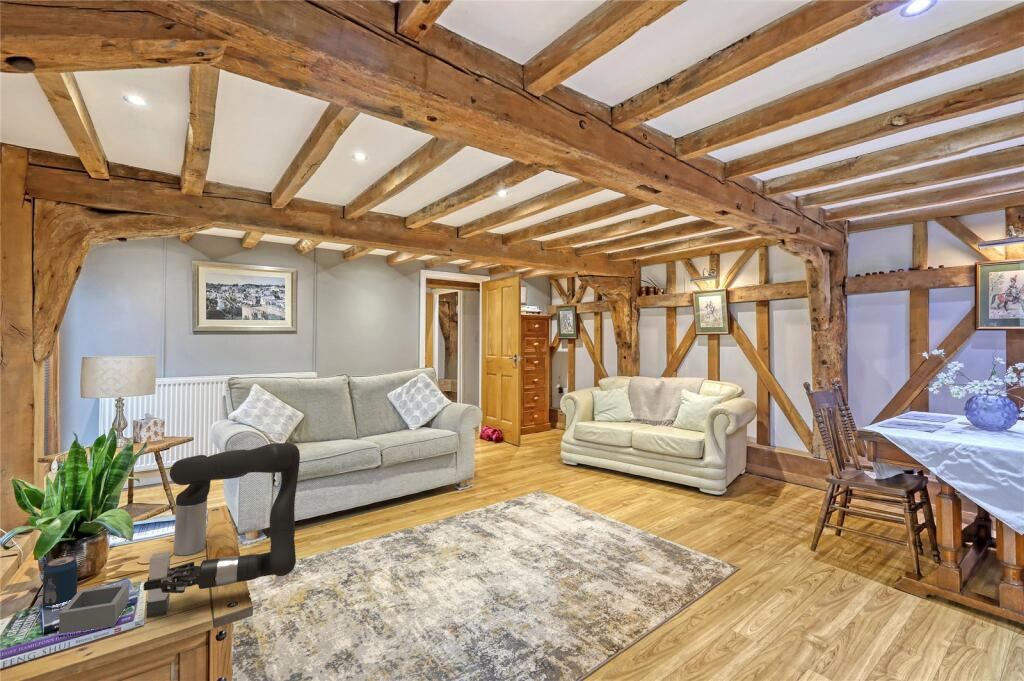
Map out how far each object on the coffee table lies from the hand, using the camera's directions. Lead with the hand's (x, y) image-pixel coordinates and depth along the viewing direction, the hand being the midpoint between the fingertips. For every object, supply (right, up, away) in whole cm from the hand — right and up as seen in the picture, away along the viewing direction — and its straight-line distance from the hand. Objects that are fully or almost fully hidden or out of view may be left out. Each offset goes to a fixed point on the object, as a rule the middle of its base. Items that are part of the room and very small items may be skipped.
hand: (146, 582), depth 125 cm
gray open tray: (-11, -8, -3) cm, 14 cm away
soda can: (-28, -8, +4) cm, 29 cm away
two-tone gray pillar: (+2, -9, +1) cm, 9 cm away
